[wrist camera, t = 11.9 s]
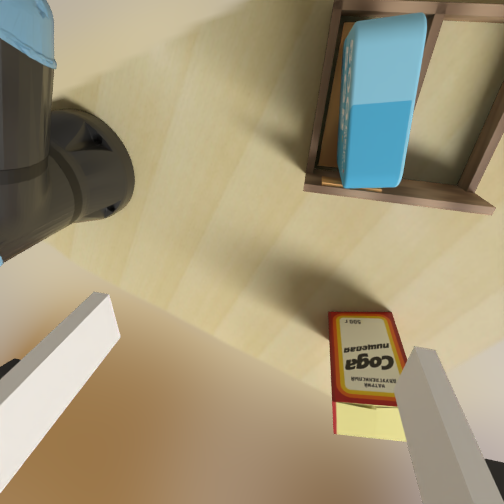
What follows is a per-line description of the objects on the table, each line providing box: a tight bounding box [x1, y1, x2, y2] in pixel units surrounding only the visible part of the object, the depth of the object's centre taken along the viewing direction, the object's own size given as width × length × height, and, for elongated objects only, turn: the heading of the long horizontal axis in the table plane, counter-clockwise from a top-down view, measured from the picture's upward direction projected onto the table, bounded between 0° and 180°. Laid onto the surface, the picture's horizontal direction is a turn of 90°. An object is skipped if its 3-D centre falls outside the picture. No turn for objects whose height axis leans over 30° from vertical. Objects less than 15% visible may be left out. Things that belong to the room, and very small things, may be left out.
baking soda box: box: [328, 312, 407, 442], centre depth 40 cm, size 10×6×16 cm
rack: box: [303, 0, 504, 215], centre depth 28 cm, size 18×17×7 cm
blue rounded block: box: [337, 12, 427, 188], centre depth 26 cm, size 12×4×12 cm, turn 5°
